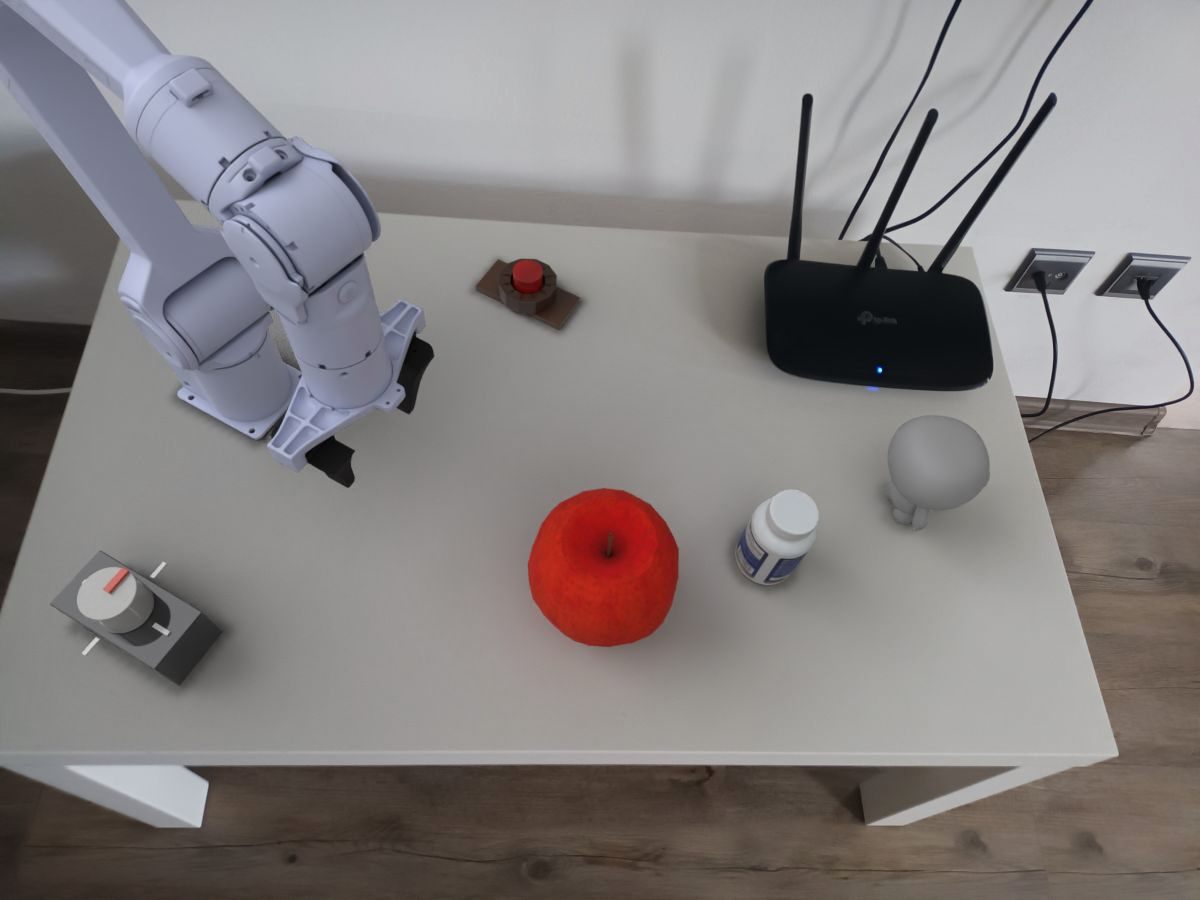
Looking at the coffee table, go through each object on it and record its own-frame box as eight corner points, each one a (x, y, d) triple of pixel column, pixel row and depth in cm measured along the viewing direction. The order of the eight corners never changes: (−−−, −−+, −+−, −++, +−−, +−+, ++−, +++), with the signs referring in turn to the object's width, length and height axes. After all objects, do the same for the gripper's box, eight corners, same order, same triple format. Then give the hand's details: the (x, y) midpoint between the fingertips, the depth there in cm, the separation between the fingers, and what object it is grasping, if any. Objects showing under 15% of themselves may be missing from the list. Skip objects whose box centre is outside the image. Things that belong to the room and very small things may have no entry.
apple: (681, 655, 67) (713, 601, 56) (542, 685, 65) (546, 635, 54) (645, 527, 73) (668, 454, 61) (516, 551, 71) (514, 480, 59)
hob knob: (126, 643, 60) (105, 628, 57) (84, 617, 60) (61, 601, 57) (166, 597, 61) (147, 581, 58) (124, 573, 62) (104, 555, 59)
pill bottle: (799, 541, 73) (834, 493, 65) (786, 595, 71) (821, 552, 62) (741, 522, 74) (769, 471, 66) (727, 574, 71) (753, 528, 63)
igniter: (471, 295, 85) (470, 278, 83) (501, 259, 87) (501, 242, 85) (555, 335, 83) (556, 319, 81) (583, 297, 86) (584, 281, 84)
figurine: (947, 544, 75) (1016, 483, 64) (869, 550, 74) (926, 490, 63) (920, 467, 78) (980, 398, 68) (845, 472, 78) (895, 404, 67)
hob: (65, 641, 64) (30, 621, 60) (141, 557, 68) (114, 532, 64) (164, 705, 62) (136, 688, 58) (237, 615, 66) (216, 593, 62)
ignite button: (507, 286, 83) (507, 274, 81) (522, 267, 84) (522, 255, 83) (532, 298, 82) (533, 286, 81) (547, 279, 84) (548, 267, 82)
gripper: (313, 446, 47) (356, 539, 59) (454, 285, 54) (467, 398, 66) (218, 393, 49) (278, 495, 60) (367, 242, 56) (395, 360, 67)
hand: (371, 441), depth 63 cm, fingers open, 7 cm apart
